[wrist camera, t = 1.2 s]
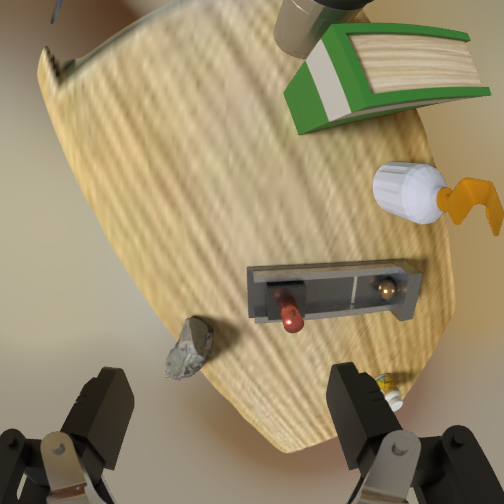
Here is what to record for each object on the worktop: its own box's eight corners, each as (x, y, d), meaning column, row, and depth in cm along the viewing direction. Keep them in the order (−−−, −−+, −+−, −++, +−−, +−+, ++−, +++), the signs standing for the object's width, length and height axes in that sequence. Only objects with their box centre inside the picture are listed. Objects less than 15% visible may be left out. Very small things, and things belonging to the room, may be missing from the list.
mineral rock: (175, 370, 53) (167, 404, 43) (146, 332, 49) (130, 365, 40) (229, 351, 51) (228, 387, 42) (201, 309, 48) (193, 342, 39)
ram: (265, 279, 45) (272, 308, 36) (301, 278, 45) (316, 305, 36) (266, 309, 47) (272, 342, 38) (300, 307, 47) (313, 339, 38)
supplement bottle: (367, 388, 58) (380, 415, 49) (377, 372, 56) (393, 399, 47) (382, 388, 58) (397, 413, 49) (393, 373, 57) (409, 398, 48)
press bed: (246, 267, 46) (248, 286, 39) (403, 258, 47) (424, 273, 40) (248, 313, 49) (250, 337, 42) (396, 300, 50) (414, 318, 43)
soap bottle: (361, 186, 43) (465, 214, 19) (393, 151, 41) (502, 156, 17) (390, 222, 45) (489, 272, 21) (419, 188, 43) (522, 216, 20)
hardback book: (376, 75, 36) (467, 33, 14) (390, 114, 39) (491, 95, 16) (283, 92, 37) (331, 24, 15) (298, 135, 40) (366, 106, 17)
